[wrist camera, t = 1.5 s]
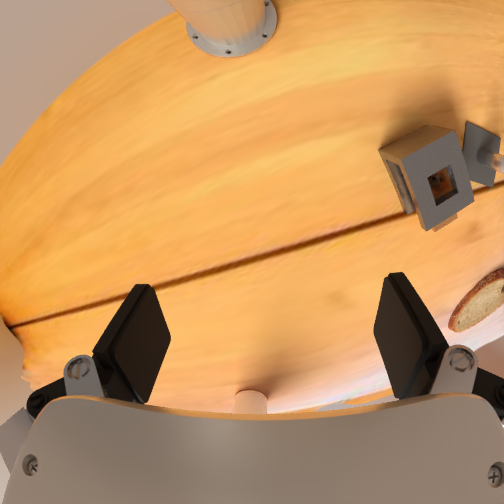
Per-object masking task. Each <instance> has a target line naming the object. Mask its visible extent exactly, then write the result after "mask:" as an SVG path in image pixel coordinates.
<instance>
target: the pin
mask: <svg viewBox="0 0 504 504" xmlns="http://www.w3.org/2000/svg"><path fill="white" fill-rule="evenodd" d="M477 161H478V162H479V164H481V165H484V166H486V167H489V168H491V169H494V170H496V171H498V172H500V173H503V174H504V155H501V154H498V153H495V152H492V151H489V150H486V149H483V148H480V149H479V150H478V151H477Z"/></svg>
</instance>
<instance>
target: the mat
mask: <svg viewBox="0 0 504 504" xmlns="http://www.w3.org/2000/svg"><path fill="white" fill-rule="evenodd" d="M500 140H501V138H499V137H498V136H496V135H494V134H492V133H490V132H488V131H486V130H484V129H482V128H479V127H477V126H475V125H473V124H471V123H468V122H466V124H465V134H464V142H463V149H462V153H463V157H464V160H465V164H466V167H467V171H468V175H469V179H470V180H471V181H474V182H477V183H481V184H484V185H486V186H489V187H492V188H493V184H494V179H495V173H496V170H494V169H491V168H489V167H486V166H484V165H481V164H479V162H478V161H477V151H478V150H479V149H480V148H483V149H486V150H489V151H492V152H495V153H498V154H499V148H500Z"/></svg>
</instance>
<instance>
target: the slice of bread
mask: <svg viewBox="0 0 504 504" xmlns="http://www.w3.org/2000/svg"><path fill="white" fill-rule="evenodd" d="M503 303H504V270H497V271H494V272H492V273H491V274H490V275H488V276H486V277H485V278H484V279H482V280H481V281H480V282H479V283H478V284H477V285H476V286H475V287H474V288H473V289H472V290H471V291H469V292H468V294H467V295H466V296H465V297H464V298H463V299H462V300H461V302H460V303H459V304H458V305H457V307H456V308H455V310H454V312H453V313H452V315H451V317H450V320H449V323H448V328H449V329H451V330H453V331H454V332H462V331H464V330H466V329H468V328H470V327H471V326H474V325H475V324H477V323H479V322H480V321H482V320H483V319H485V318H486V317H487V316H489V315H490V314H491V313H493V312H494V311H495V310H496V309H497V308H499V307H500V306H501V305H502V304H503Z"/></svg>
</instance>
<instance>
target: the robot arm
mask: <svg viewBox="0 0 504 504" xmlns="http://www.w3.org/2000/svg"><path fill="white" fill-rule="evenodd" d="M166 1H167V2H168V3H169V4H170V5H171V6H172V7H173V8H174V9H175V10H176V11H177V12H178V13H179V14H180V15H181V16H182V17H183V18H184V19H185V20H186V21H187V32H188V35H189V37H190V39H191V41H192V42H193V43H194V44H195V45H196V46H197V47H198V48H199V49H200V50H202V51H204V52H206V53H207V54H210V55H213V56H217V57H222V58H234V57H241V56H244V55H248V54H250V53H252V52H255V51H257V50H258V49H260V48H261V47H263V46H264V45H265V44H266V43H267V42H268V41H269V40H270V38H271V37H272V35H273V34H274V31H275V29H276V24H277V15H276V10H275V8H274V6H273V4H272V2H271V1H270V0H166ZM265 5H268V6H265ZM264 35H266V36H267V37H266V38H264V37H263V36H264ZM196 37H198V38H197V39H195V38H196ZM229 51H230V52H231V53H230V54H228V52H229ZM374 336H375V339H376V342H377V344H378V347H379V350H380V353H381V356H382V359H383V362H384V365H385V368H386V371H387V374H388V377H389V380H390V383H391V386H392V390H393V393H394V396H395V398H399V400H397V401H392V402H387V403H381V404H375V405H369V406H362V407H356V408H348V409H340V410H332V411H321V412H307V413H289V414H232V413H214V412H200V411H190V410H181V409H172V408H165V407H158V406H152V405H145V404H144V403H147V402H148V400H149V397H150V395H151V392H152V389H153V386H154V384H155V381H156V378H157V375H158V373H159V370H160V367H161V365H162V362H163V360H164V357H165V354H166V352H167V349H168V347H169V344H170V341H171V335H170V332H169V329H168V327H167V324H166V321H165V319H164V316H163V313H162V310H161V307H160V304H159V301H158V298H157V295H156V292H155V290H154V288H152V287H151V286H150V285H149V284H136V285H135V286H134V287H133V288H132V290H131V291H130V293H129V294H128V296H127V297H126V299H125V300H124V302H123V303H122V305H121V306H120V308H119V309H118V311H117V312H116V314H115V315H114V317H113V318H112V320H111V322H110V323H109V325H108V326H107V328H106V329H105V331H104V333H103V334H102V336H101V337H100V339H99V341H98V342H97V344H96V346H95V347H94V349H93V351H92V352H93V353H94V354H93V356H92V358H91V357H90V356H88V355H79V356H76V357H74V358H72V359H71V360H70V361H69V362H68V363H67V364H66V366H65V368H64V377H63V378H61V379H59V380H57V381H55V382H53V383H51V384H48V385H46V386H44V387H42V388H40V389H38V390H36V391H34V392H33V393H32V394H31V395H30V396H29V398H28V400H27V409H25V408H24V407H23V408H21V410H19V411H18V412H17V413H16V414H14V415H13V416H12V417H11V418H10V419H8V420H7V421H6V422H5V423H4V424H3V425H1V426H0V452H1V454H2V456H3V459H4V461H5V464H6V466H7V468H8V470H9V472H10V474H11V475H10V478H9V481H8V484H7V488H6V491H5V495H4V499H3V503H2V504H504V379H503V378H501V377H499V376H496V375H494V374H492V373H490V372H488V371H485V370H483V369H481V368H479V367H478V360H477V357H476V355H475V353H474V352H473V351H472V350H471V349H470V348H468V347H466V346H463V345H453V346H450V347H449V345H448V343H447V341H446V339H445V338H444V336H443V334H442V332H441V331H440V329H439V327H438V325H437V324H436V322H435V320H434V319H433V317H432V315H431V314H430V312H429V311H428V309H427V307H426V306H425V304H424V303H423V301H422V300H421V298H420V297H419V295H418V294H417V292H416V291H415V289H414V287H413V286H412V284H411V283H410V282H409V280H408V279H407V277H406V276H405V274H404V273H403V272H397V273H390V274H389V275H388V277H385V278H384V282H383V287H382V292H381V297H380V302H379V307H378V311H377V315H376V320H375V324H374Z"/></svg>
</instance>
